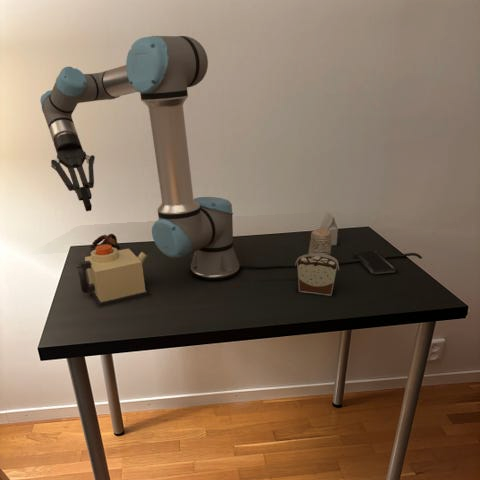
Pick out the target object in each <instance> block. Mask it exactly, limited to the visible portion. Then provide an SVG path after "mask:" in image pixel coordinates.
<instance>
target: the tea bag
mask: <svg viewBox="0 0 480 480" xmlns="http://www.w3.org/2000/svg"><path fill="white" fill-rule="evenodd" d="M320 229H326V230H329V231H330V232H331V235H332V243H331V246H338V245H337V244H338V233H339V228H338V226H337V223H336V218H335V216H333V215H332V214H330V212H328V211H326V213H325V215H324V217H323V219H322V221H321V223H320Z"/></svg>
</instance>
